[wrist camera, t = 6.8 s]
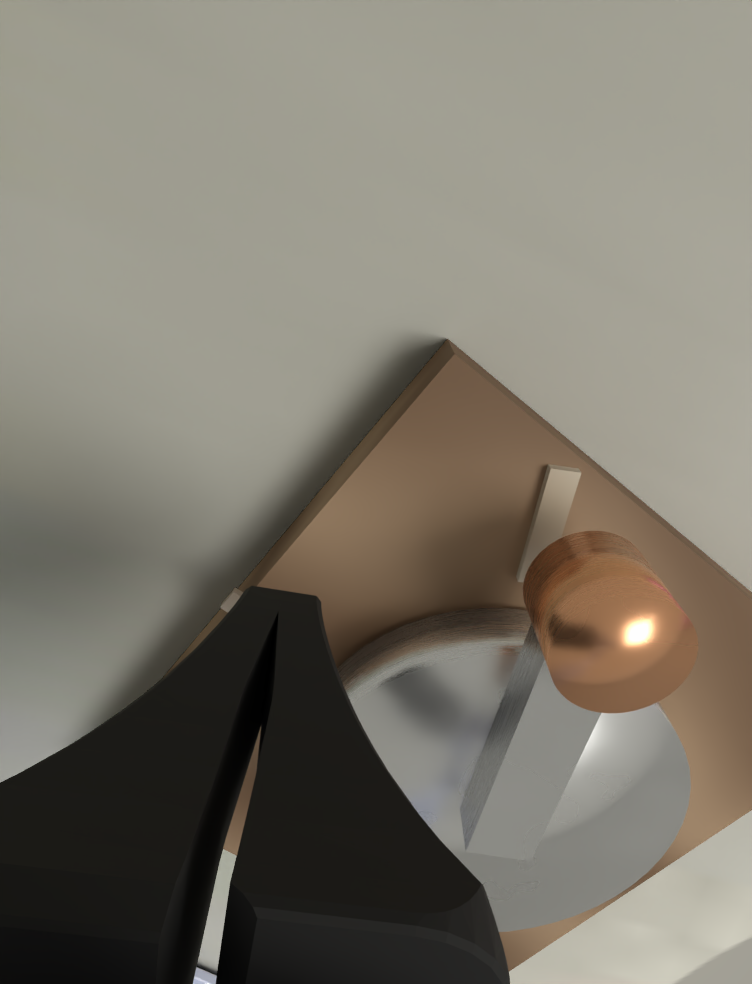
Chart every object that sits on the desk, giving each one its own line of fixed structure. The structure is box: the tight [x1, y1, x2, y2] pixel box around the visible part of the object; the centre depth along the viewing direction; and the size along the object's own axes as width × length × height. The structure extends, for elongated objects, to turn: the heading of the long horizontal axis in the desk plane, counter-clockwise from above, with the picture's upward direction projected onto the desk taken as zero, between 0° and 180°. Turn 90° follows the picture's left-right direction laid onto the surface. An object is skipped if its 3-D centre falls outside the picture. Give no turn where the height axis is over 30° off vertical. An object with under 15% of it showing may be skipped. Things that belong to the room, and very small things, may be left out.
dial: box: [337, 531, 698, 932], centre depth 15 cm, size 13×10×4 cm
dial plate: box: [162, 339, 752, 971], centre depth 19 cm, size 16×16×2 cm
